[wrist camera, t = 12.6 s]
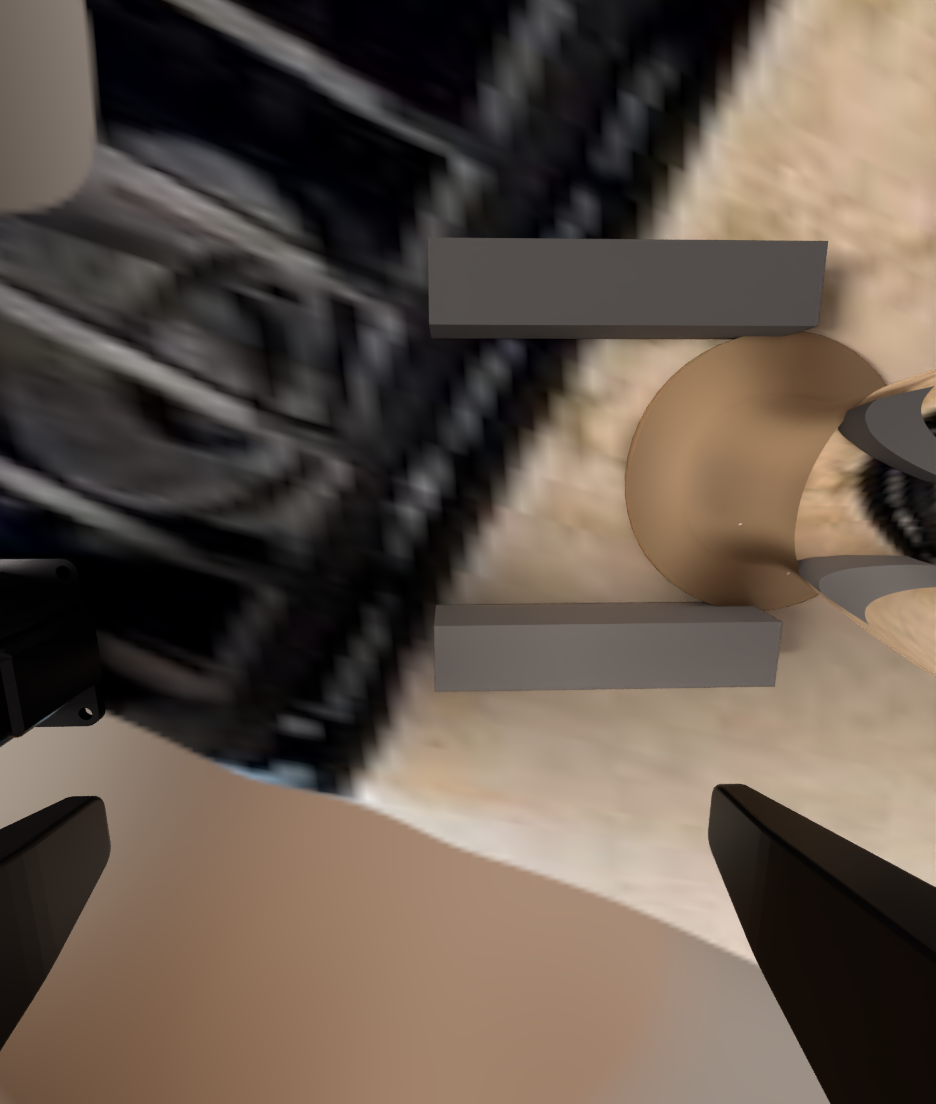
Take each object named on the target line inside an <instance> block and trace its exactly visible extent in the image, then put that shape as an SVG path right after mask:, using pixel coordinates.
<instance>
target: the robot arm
mask: <svg viewBox="0 0 936 1104" xmlns="http://www.w3.org/2000/svg"><path fill="white" fill-rule="evenodd" d="M64 566H66V567H67V568H69V570H70V572H71V574H70V576H68V575H66V574H65V572H64ZM101 678H102V669H101V662H100V655H99V649H98V642H97V635H96V628H95V622H94V617H93V615H92V614H91V608H90V601H89V595H88V588H87V581H86V574H85V569H84V566H83V564H82V563H81V562H80V561H79V560H78V559H76V558H74V557H69V556H64V557H0V747H1V746H2V745H4V744H5V743H7V742H8V741H10V740H11V739H13V738H16V737H20V736H23V735H24V734H25V733H27V732H28V731H30V730H31V729H33V728H34V727H60V726H61V727H64V726H90V725H93V724H95V723H96V722H97V721H99V720H100V719H101V718H102V717H103V716H104V714H105V703H104V696H103V689H102V682H101ZM85 708H88V709H89V710H91V712H92V715H90V714H88V713H87V712H86V710H85ZM708 839H709V845H710V849H711V851H712V854H713V857H714V859H715V861H716V864H717V866H718V869H719V871H720V874H721V876H722V879H723V881H724V884H725V886H726V888H727V891H728V893H729V896H730V898H731V901H732V903H733V906H734V908H735V911H736V913H737V916H738V918H739V920H740V923H741V925H742V928H743V930H744V933H745V935H746V938H747V940H748V942H749V945H750V947H751V949H752V952H753V954H754V956H755V958H756V960H757V962H758V964H759V966H760V968H761V970H762V973H763V974H764V977H765V979H766V981H767V982H768V984H769V986H770V988H771V990H772V992H773V994H774V996H775V998H776V1000H777V1002H778V1004H779V1005H780V1007H781V1009H782V1011H783V1013H784V1015H785V1017H786V1019H787V1021H788V1023H789V1025H790V1027H791V1029H792V1031H793V1033H794V1034H795V1036H796V1038H797V1040H798V1042H799V1044H800V1046H801V1048H802V1050H803V1052H804V1054H805V1056H806V1058H807V1060H808V1062H809V1063H810V1065H811V1067H812V1069H813V1071H814V1073H815V1075H816V1077H817V1079H818V1081H819V1083H820V1085H821V1086H822V1089H823V1090H824V1092H825V1094H826V1096H827V1098H828V1100H829V1102H830V1104H936V887H934V886H932V885H930V884H929V883H927V882H925V881H923V880H921V879H919V878H917V877H916V876H914V875H912V874H910V873H908V872H906V871H904V870H902V869H901V868H899V867H897V866H895V865H893V864H891V863H889V862H888V861H886V860H884V859H882V858H880V857H878V856H876V855H874V854H873V853H871V852H869V851H867V850H865V849H863V848H861V847H860V846H858V845H856V844H854V843H852V842H850V841H848V840H847V839H845V838H843V837H841V836H839V835H837V834H835V833H834V832H832V831H830V830H828V829H826V828H824V827H822V826H820V825H819V824H817V823H815V822H813V821H811V820H809V819H807V818H806V817H804V816H802V815H800V814H798V813H796V812H794V811H793V810H791V809H789V808H787V807H785V806H783V805H781V804H780V803H778V802H776V801H774V800H772V799H770V798H768V797H766V796H765V795H763V794H761V793H759V792H757V791H755V790H753V789H752V788H750V787H748V786H746V785H743V784H719V785H717V786H716V787H714V789H713V792H712V797H711V807H710V818H709V828H708ZM110 849H111V843H110V836H109V830H108V824H107V817H106V810H105V805H104V802H103V801H102V799H101V798H99V797H97V796H73V797H68V798H65V799H63V800H61V801H59V802H57V803H55V804H53V805H51V806H49V807H46V808H44V809H42V810H40V811H38V812H36V813H34V814H31V815H29V816H27V817H25V818H23V819H21V820H19V821H17V822H15V823H13V824H10V825H8V826H6V827H4V828H2V829H0V1051H1V1049H2V1048H3V1046H4V1045H5V1043H6V1041H7V1040H8V1038H9V1037H10V1035H11V1033H12V1032H13V1030H14V1029H15V1027H16V1026H17V1024H18V1022H19V1021H20V1019H21V1018H22V1016H23V1015H24V1013H25V1011H26V1010H27V1008H28V1007H29V1005H30V1003H31V1002H32V1000H33V999H34V997H35V995H36V994H37V992H38V991H39V989H40V987H41V986H42V984H43V982H44V981H45V979H46V977H47V975H48V974H49V972H50V970H51V968H52V967H53V965H54V963H55V961H56V960H57V958H58V956H59V954H60V952H61V950H62V948H63V946H64V944H65V942H66V940H67V939H68V937H69V935H70V933H71V931H72V929H73V927H74V925H75V923H76V922H77V920H78V918H79V916H80V914H81V912H82V910H83V908H84V906H85V904H86V902H87V901H88V899H89V897H90V895H91V893H92V891H93V889H94V887H95V885H96V883H97V882H98V880H99V878H100V876H101V874H102V872H103V870H104V868H105V866H106V864H107V862H108V859H109V855H110Z"/></svg>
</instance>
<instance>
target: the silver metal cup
mask: <svg viewBox="0 0 936 1104" xmlns="http://www.w3.org/2000/svg"><path fill="white" fill-rule="evenodd" d="M682 502H683V508H684V512H685V515H686V518H687V520H688V523H689V525H690V527H691V529H692V530H693V532H694V534H695V535H696V536H697V538H698V539H699V540H700V541H701V542H702V543H703V545H704V546H705V547H707V548H708V549H709V550H710V551H711V552H713V553H714V554H715V555H717V556H719V557H720V558H722V559H724V560H726V561H729V562H732V563H735V564H739V565H743V566H749V567H760V568H774V569H778V570H781V571H784V572H786V573H787V575H789V574H790V575H792V576H794V577H796V578H797V579H799V580H800V581H802V582H803V583H804V584H806V585H807V586H809V587H810V588H811V589H813V590H814V591H815V592H816V593H818V594H819V595H820V596H821V597H823V598H824V599H825V600H826V601H828V602H829V603H830V604H832V605H833V606H834V607H835V608H837V609H838V610H839V611H841V612H842V613H843V614H845V615H846V616H847V617H848V618H850V619H851V620H852V621H854V622H855V623H856V624H858V625H859V626H860V627H862V628H863V629H864V630H866V631H867V632H868V633H870V634H871V635H872V636H874V637H875V638H877V639H878V640H880V641H881V642H883V643H884V644H886V645H887V646H889V647H890V648H892V649H893V650H895V651H896V652H898V653H899V654H901V655H902V656H904V657H905V658H907V659H908V660H910V661H911V662H913V663H914V664H916V665H917V666H919V667H920V668H922V669H923V670H925V671H926V672H928V673H930V674H931V675H933V676H935V677H936V369H934V370H931V371H928V372H925V373H922V374H919V375H916V376H913V377H911V378H908V379H905V380H902V381H899V382H896V383H893V384H890V385H888V386H885V387H882V388H879V389H876V390H873V391H871V392H868V393H865V394H862V395H858V396H855V397H852V398H849V399H846V400H841V401H835V402H823V401H818V400H813V399H809V398H803V397H798V396H790V395H769V396H761V397H757V398H753V399H750V400H747V401H744V402H742V403H740V404H737V405H735V406H734V407H732V408H730V409H728V410H727V411H725V412H724V413H722V414H721V415H720V416H718V417H717V418H716V419H715V420H714V421H713V422H712V423H711V424H710V425H709V426H708V427H707V428H706V429H705V430H704V431H703V432H702V434H701V435H700V436H699V438H698V439H697V441H696V442H695V444H694V446H693V448H692V450H691V452H690V454H689V456H688V459H687V462H686V465H685V469H684V473H683V479H682Z"/></svg>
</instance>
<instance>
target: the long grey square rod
mask: <svg viewBox="0 0 936 1104" xmlns="http://www.w3.org/2000/svg"><path fill="white" fill-rule="evenodd" d="M827 247H828V241H756V240H643V239H530V238H428V271H429V325H430V331H431V336H432V338H519V339H737V338H740V337H743V336H786V335H790V334H793V333H796V332H800V331H803V330H806V329H810V328H813V327H816V326H818V321H819V313H820V305H821V296H822V288H823V280H824V272H825V263H826V255H827Z"/></svg>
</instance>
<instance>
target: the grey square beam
mask: <svg viewBox="0 0 936 1104" xmlns="http://www.w3.org/2000/svg"><path fill="white" fill-rule="evenodd" d="M781 629H782V621H780V620H778V619H776V618H775V617H773V616H771V615H769V614H768V613H766V612H764V611H762V610H760V609H759V608H757V607H755V606H722V607H718V606H715V605H712V604H709V603H706V602H655V603H566V604H477V605H436V608H435V620H434V662H435V692H459V691H522V690H584V689H647V688H710V687H772V686H775V679H776V671H777V663H778V654H779V646H780V638H781Z"/></svg>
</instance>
